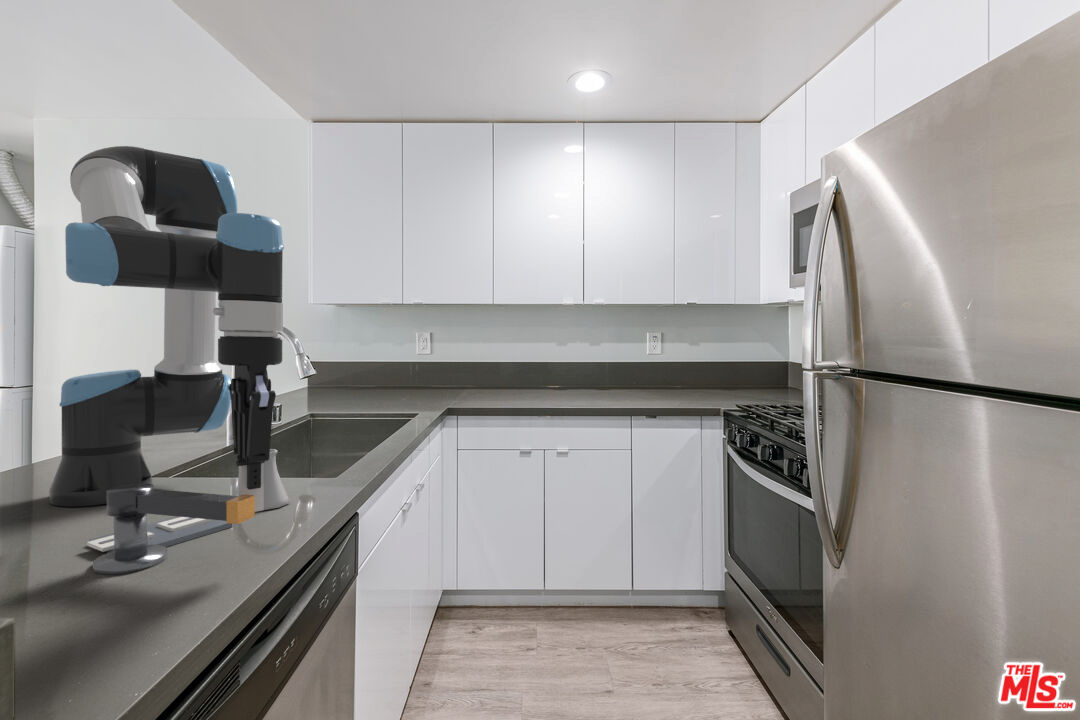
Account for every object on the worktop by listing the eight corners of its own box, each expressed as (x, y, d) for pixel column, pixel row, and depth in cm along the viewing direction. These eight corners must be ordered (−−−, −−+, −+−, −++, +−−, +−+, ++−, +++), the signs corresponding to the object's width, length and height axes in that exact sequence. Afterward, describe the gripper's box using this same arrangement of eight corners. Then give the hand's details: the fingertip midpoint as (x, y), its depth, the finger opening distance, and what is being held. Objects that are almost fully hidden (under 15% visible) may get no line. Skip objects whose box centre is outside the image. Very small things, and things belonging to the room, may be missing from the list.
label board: (79, 547, 78) (79, 538, 78) (196, 516, 92) (196, 507, 92) (115, 562, 73) (115, 552, 73) (232, 526, 87) (232, 518, 87)
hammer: (96, 515, 71) (96, 492, 71) (132, 503, 76) (131, 482, 76) (231, 527, 67) (231, 503, 67) (259, 514, 72) (259, 492, 72)
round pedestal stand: (80, 566, 72) (80, 517, 71) (148, 546, 79) (147, 501, 78) (111, 579, 68) (111, 528, 68) (179, 557, 75) (179, 511, 75)
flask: (259, 514, 94) (259, 456, 93) (236, 506, 98) (236, 451, 97) (297, 503, 100) (297, 449, 99) (274, 497, 104) (274, 445, 103)
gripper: (207, 333, 74) (208, 504, 75) (230, 335, 64) (231, 530, 66) (267, 334, 79) (267, 494, 80) (297, 336, 69) (296, 517, 71)
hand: (251, 510), depth 73 cm, fingers closed
